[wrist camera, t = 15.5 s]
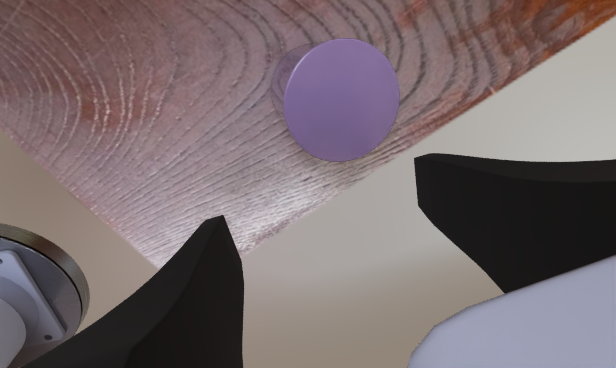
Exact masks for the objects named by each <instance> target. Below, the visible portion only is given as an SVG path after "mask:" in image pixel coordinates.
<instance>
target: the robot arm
mask: <svg viewBox="0 0 616 368" xmlns="http://www.w3.org/2000/svg"><path fill="white" fill-rule="evenodd" d="M414 164H415V176H416V186H417V198H418V206H419V207H420V209H421V210H422V211H423V212H424V214H425V215H426V216H427V218H428V219H429V220H430V221H431V222H432V223H433V224H434V226H436V227H437V228H438V229H439V230H440V231H441V232H442V233H443V234H444V235H445V236H446V237H447V238H449V239H450V240H451V241H452V242H453V243H454V244H455V245H456V246H458V247H459V248H460V249H461V250H462V251H463V252H464V253H466V255H468V256H469V257H470V258H471V259H472V260H473V261H474V262H475V263H477V264H478V265H479V266H480V267H481V268H482V269H483V270H484V271H485V272H486V273H487V274H488V276H489V277H490V278H491V279H492V280H493V281H494V282H495V283H496V284H497V286H498V287H499V288H500V289H501V290H502V291H503V292H504V293H505V294H503V295H501V296H497V297H495V298H492V299H489V300H486V301H483V302H481V303H478V304H475V305H472V306H469V307H466V308H465V309H463V310H461V311H460V312H458V313H456V314H454V315H452V316H451V317H449V318H447V319H445V320H444V321H442V322H440V323H438V324H437V325H435V326H434V327H433V328H432V329H431V330H430V332H429V333H428V334H427V335H426V336H425V338H424V339H423V340H422V341H421V343H419V345H418V346H417V347H416V348H415V349H414V351H413V352H412V354H411V356H410V359H409V364H408V368H616V159H615V160H602V161H580V162H529V161H527V162H526V161H511V160H499V159H489V158H479V157H470V156H462V155H453V154H439V153H432V154H426V155H423V156H419V157H416V158H414ZM0 259H1V260H2V261H0V368H7V367H8V366H9V364H10V363H11V362H12V360H13V359H14V358H15V356H16V355H17V354H18V352H19V351H20V349H24V348H28V347H32V346H36V345H40V344H44V343H48V342H52V341H56V340H60V339H62V338H63V336H64V335H65V330H64V328H63V326H62V325H61V323H60V322H59V320H58V318H57V317H56V315H55V314H54V312H53V310H52V309H51V307H50V306H49V304H48V302H47V301H46V299H45V298H44V296H43V294H42V293H41V291H40V289H39V288H38V286H37V285H36V283H35V281H34V280H33V278H32V277H31V275H30V273H29V272H28V270H27V269H26V267H25V265H24V264H23V262H22V261H21V259H20V257H19V256H18V254H17V253H16V252H14V251H11V250H5V251H1V252H0ZM243 305H244V279H243V270H242V262H241V259H240V256H239V254H238V251H237V248H236V246H235V243H234V241H233V238H232V236H231V233H230V231H229V228H228V226H227V223H226V220H225V218H224V215H221V216H217V217H214V218H211V219H207V220H205V221H204V222H203V223H202V224H201V225H200V226H199V227H198V229H197V230H196V231H195V232H194V233H193V234H192V236H191V237H190V238H189V239H188V240H187V241H186V242H185V244H184V245H183V246H182V247H181V248H180V249H179V250H178V251H177V253H176V254H175V255H174V256H173V257H172V258H171V259H170V260H169V261H168V262H167V263H166V264H165V265H164V266H163V267H162V268H161V269H160V270H159V271H158V272H157V273H156V274H155V275H154V276H153V277H152V278H151V279H150V280H149V281H148V282H146V283H145V284H144V285H143V286H142V287H140V288H139V289H138V290H137V291H136V292H135V293H134V294H132V295H131V296H130V297H128V298H127V299H126V300H124V301H123V302H122V303H120V304H119V305H118V306H116V307H115V308H114V309H113V310H111V311H110V312H108V313H107V314H106V315H105V316H103V317H102V318H101V319H99V320H97V321H96V322H95V323H93V324H92V325H90V326H89V327H87V328H86V329H84V330H83V331H81V332H80V333H78V334H76V335H75V336H73V337H72V338H70V339H68V340H67V341H65V342H64V343H62V344H61V345H59V346H57V347H56V348H54V349H52V350H51V351H49V352H47V353H46V354H44V355H42V356H40V357H38V358H37V359H35V360H33V361H31V362H30V363H28V364H26V365H24V366H22V367H21V368H243V359H242V334H243V333H242V331H243ZM49 335H51V336H49Z"/></svg>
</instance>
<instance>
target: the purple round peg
mask: <svg viewBox="0 0 616 368" xmlns="http://www.w3.org/2000/svg"><path fill="white" fill-rule="evenodd" d="M271 98H272V102H273V105H274V108H275V110H276V112H277V114H278V115H279V117H280V119H281V120H282V122H283V123H284V125H285V126H286V128H287V129H288V131H289V133H290V134H291V136H292V137H293V139H294V140H295V141H296V143H297V144H298V145H299V146H300V147H301V148H302V149H303V150H305V151H306V152H307V153H309V154H310V155H312V156H314V157H316V158H318V159H321V160H325V161H330V162H345V161H350V160H354V159H357V158H359V157H362V156H364V155H366V154H368V153H369V152H371V151H372V150H373V149H375V148H376V147H377V146H378V145H379V144H380V143H381V142H382V141H383V140H384V139H385V137H386V136H387V135H388V133H389V132H390V130H391V128H392V126H393V124H394V122H395V119H396V116H397V113H398V108H399V101H400V92H399V84H398V79H397V76H396V73H395V71H394V69H393V67H392V65H391V63H390V62H389V60H388V59H387V58H386V57H385V55H384V54H383V53H382V52H381V51H379V50H378V49H377V48H376V47H374V46H372V45H371V44H369V43H366V42H364V41H361V40H357V39H351V38H340V39H333V40H327V41H321V42H315V43H309V44H304V45H301V46H298V47H296V48H294V49H293V50H291V51H290V52H288V53H287V54H286V55H285V56H284V57H283V58H282V59H281V61H280V62H279V63H278V65H277V67H276V69H275V71H274V73H273V77H272V81H271Z"/></svg>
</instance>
